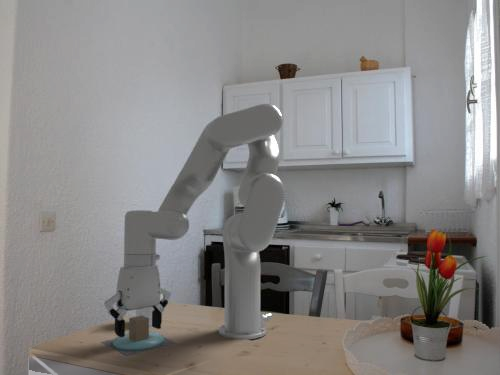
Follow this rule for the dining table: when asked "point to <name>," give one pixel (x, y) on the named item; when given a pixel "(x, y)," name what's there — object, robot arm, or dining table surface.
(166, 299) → the robot arm
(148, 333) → the lid
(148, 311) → the white cup
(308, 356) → the dining table surface
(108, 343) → the mat
